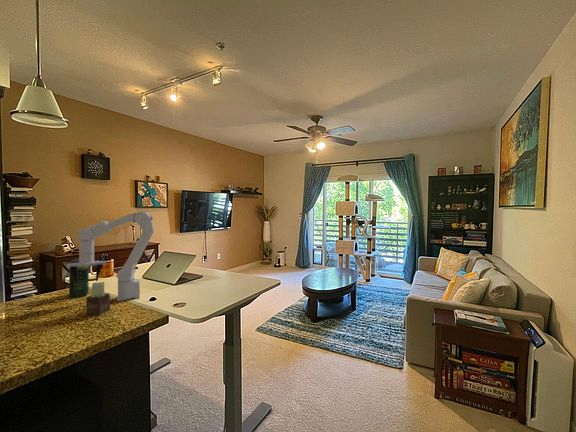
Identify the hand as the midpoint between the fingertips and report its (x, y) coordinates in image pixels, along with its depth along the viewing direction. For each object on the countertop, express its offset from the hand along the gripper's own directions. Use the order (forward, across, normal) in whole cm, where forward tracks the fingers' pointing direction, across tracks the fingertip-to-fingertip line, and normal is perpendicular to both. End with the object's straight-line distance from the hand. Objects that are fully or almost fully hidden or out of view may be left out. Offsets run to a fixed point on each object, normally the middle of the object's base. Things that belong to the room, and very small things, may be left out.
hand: (86, 281), depth 129 cm
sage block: (+2, +5, -19) cm, 20 cm away
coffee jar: (+10, -4, +14) cm, 17 cm away
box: (+10, +5, -19) cm, 22 cm away
